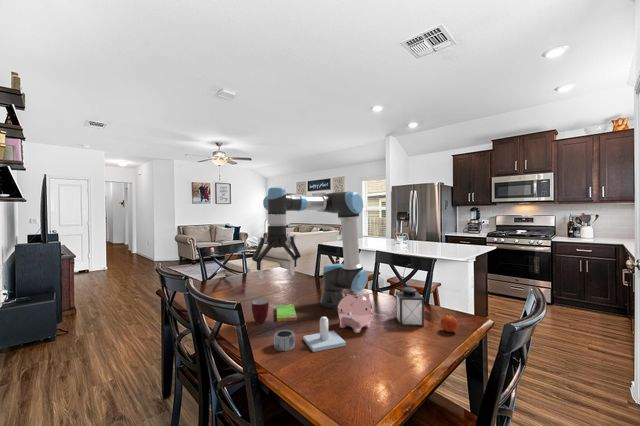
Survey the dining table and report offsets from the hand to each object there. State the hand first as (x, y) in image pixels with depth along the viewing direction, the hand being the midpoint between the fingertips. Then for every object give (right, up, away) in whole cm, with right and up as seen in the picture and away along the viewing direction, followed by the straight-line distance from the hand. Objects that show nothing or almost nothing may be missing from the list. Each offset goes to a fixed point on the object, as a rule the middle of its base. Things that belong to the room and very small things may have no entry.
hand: (277, 276), depth 121 cm
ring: (+3, -27, -3) cm, 28 cm away
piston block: (+19, -27, 0) cm, 33 cm away
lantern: (+61, -27, +22) cm, 70 cm away
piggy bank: (+35, -27, +16) cm, 47 cm away
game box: (0, -28, +34) cm, 44 cm away
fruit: (+76, -27, +10) cm, 81 cm away
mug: (-12, -27, +21) cm, 36 cm away
